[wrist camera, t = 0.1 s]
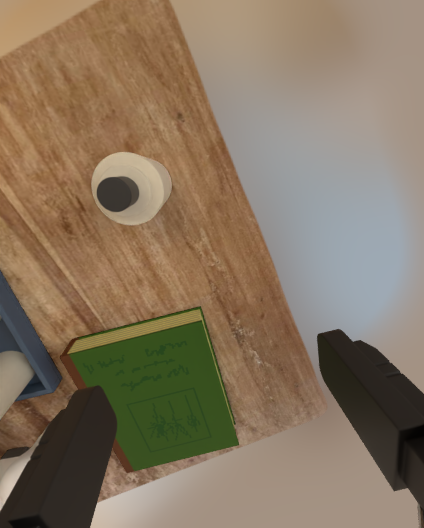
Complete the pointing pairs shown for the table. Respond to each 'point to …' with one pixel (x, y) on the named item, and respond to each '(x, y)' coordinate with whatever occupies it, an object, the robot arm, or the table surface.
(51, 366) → the tray
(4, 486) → the lightbulb
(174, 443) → the hardcover book
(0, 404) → the row bottle
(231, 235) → the table surface
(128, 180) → the bottle
